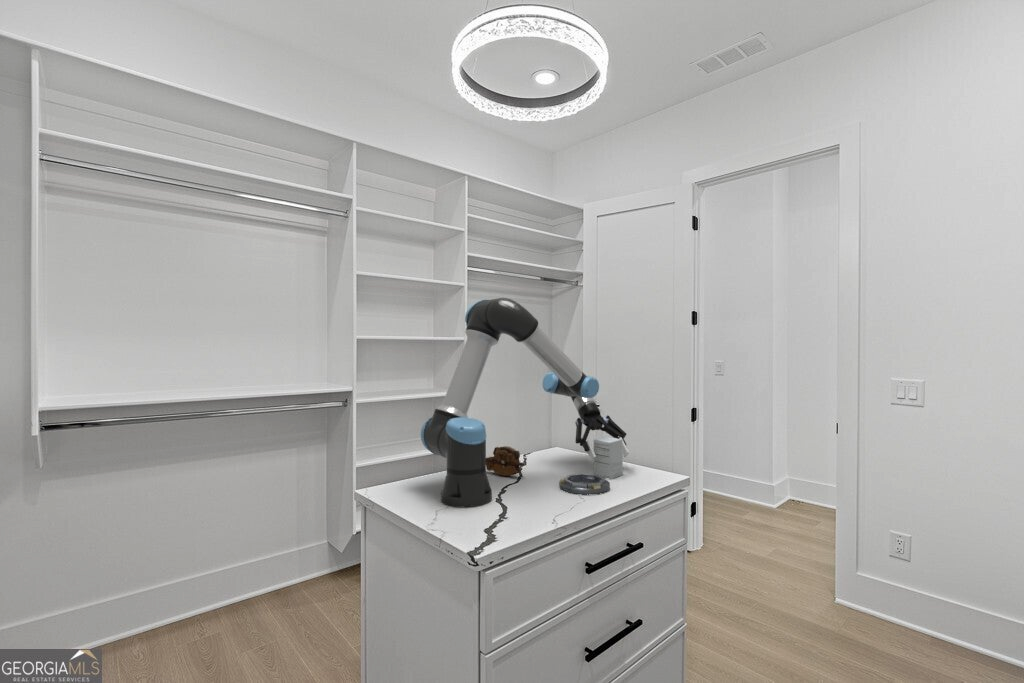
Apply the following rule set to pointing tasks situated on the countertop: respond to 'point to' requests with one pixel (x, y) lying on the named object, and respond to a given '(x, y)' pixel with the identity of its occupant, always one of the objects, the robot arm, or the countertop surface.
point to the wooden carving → (504, 461)
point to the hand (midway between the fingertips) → (610, 456)
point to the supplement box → (608, 457)
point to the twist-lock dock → (584, 484)
